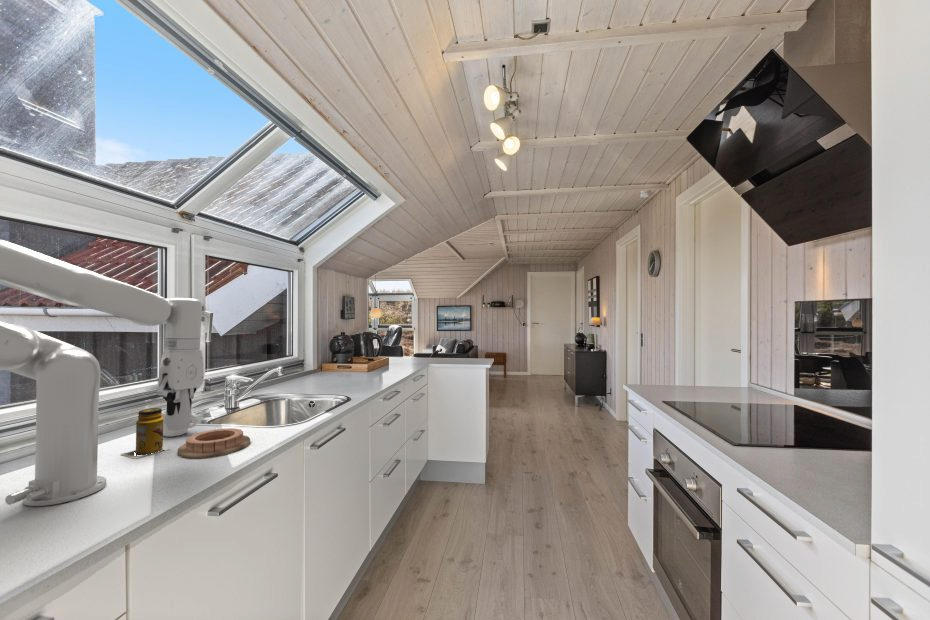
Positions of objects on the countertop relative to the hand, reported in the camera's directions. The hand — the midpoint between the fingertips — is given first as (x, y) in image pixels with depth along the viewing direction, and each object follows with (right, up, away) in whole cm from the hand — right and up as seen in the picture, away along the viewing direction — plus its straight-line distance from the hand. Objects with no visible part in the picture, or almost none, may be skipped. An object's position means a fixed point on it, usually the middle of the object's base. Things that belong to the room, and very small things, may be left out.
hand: (178, 415), depth 99 cm
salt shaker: (0, -4, 0) cm, 4 cm away
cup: (-19, -14, +26) cm, 35 cm away
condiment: (-17, -14, +10) cm, 24 cm away
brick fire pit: (0, -14, +14) cm, 20 cm away
